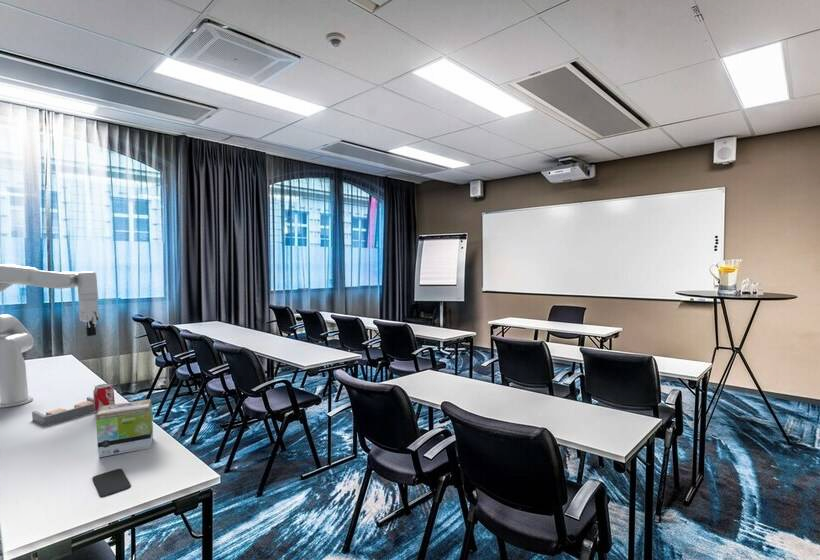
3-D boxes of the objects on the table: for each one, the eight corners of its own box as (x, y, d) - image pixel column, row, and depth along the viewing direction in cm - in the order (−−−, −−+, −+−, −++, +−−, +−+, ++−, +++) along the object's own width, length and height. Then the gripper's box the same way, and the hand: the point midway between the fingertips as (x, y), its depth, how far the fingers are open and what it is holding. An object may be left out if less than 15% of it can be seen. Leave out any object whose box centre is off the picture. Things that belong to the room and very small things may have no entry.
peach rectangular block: (74, 411, 184) (74, 405, 184) (86, 407, 188) (85, 401, 188) (83, 412, 182) (82, 405, 182) (94, 408, 187) (94, 401, 187)
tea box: (98, 459, 138) (94, 415, 137) (103, 447, 147) (100, 405, 146) (151, 448, 145) (148, 406, 144) (154, 437, 154) (151, 397, 153)
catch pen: (32, 420, 175) (31, 411, 174) (90, 404, 192) (89, 396, 192) (45, 425, 168) (44, 417, 168) (103, 409, 185) (102, 401, 185)
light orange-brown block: (46, 419, 175) (45, 412, 175) (60, 415, 180) (59, 408, 180) (53, 421, 173) (53, 413, 173) (67, 416, 178) (66, 409, 178)
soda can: (104, 417, 176) (102, 388, 175) (90, 416, 177) (88, 388, 176) (119, 410, 183) (117, 383, 182) (105, 410, 184) (103, 382, 183)
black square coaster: (100, 497, 115) (91, 476, 126) (100, 500, 115) (91, 479, 126) (132, 486, 120) (121, 467, 131) (132, 489, 120) (121, 470, 131)
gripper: (72, 297, 203) (75, 335, 204) (86, 298, 195) (89, 338, 196) (90, 296, 210) (93, 333, 211) (104, 297, 202) (107, 335, 203)
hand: (91, 335), depth 204 cm, fingers closed
